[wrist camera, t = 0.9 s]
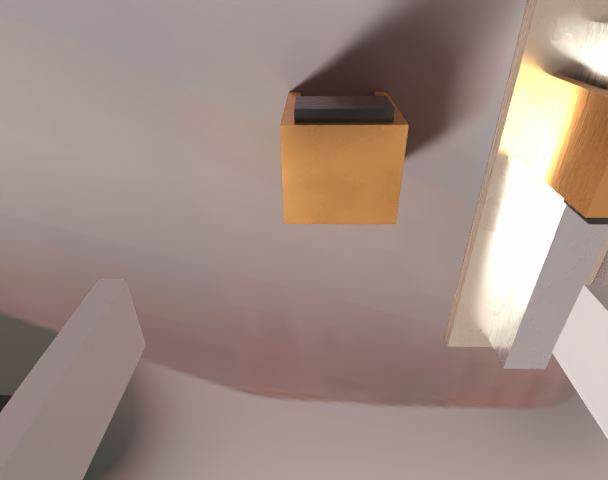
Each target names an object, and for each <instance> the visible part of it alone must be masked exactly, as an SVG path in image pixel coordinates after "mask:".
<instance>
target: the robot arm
mask: <svg viewBox="0 0 608 480" xmlns="http://www.w3.org/2000/svg"><path fill="white" fill-rule="evenodd" d="M145 346H146V344H145V341H144V338H143V334H142V331H141V328H140V325H139V322H138V318H137V315H136V312H135V309H134V305H133V302H132V299H131V296H130V293H129V289H128V286H127V283H126V280H125V279H99V280H98V281H97V282H96V284H95V285H94V286H93V288H92V289H91V291H90V292H89V293H88V295H87V296H86V297H85V299H84V300H83V301H82V303H81V304H80V305H79V307H78V308H77V309H76V311H75V312H74V314H73V315H72V316H71V318H70V319H69V320H68V322H67V323H66V324H65V326H64V327H63V328H62V330H61V331H60V332H59V334H58V335H57V336H56V338H55V339H54V341H53V342H52V343H51V345H50V346H49V347H48V349H47V350H46V352H45V353H44V354H43V356H42V357H41V358H40V360H39V361H38V362H37V364H36V365H35V366H34V368H33V369H32V370H31V372H30V373H29V374H28V376H27V377H26V379H25V380H24V381H23V383H22V384H21V385H20V387H19V388H18V389H17V391H16V392H15V393H14V395H13V396H11V395H0V480H82V479H83V477H84V475H85V473H86V471H87V469H88V467H89V465H90V463H91V460H92V458H93V456H94V454H95V452H96V450H97V448H98V445H99V444H100V441H101V439H102V437H103V435H104V433H105V431H106V429H107V427H108V424H109V422H110V420H111V418H112V416H113V414H114V412H115V409H116V408H117V405H118V403H119V401H120V399H121V397H122V395H123V393H124V391H125V389H126V386H127V384H128V382H129V380H130V378H131V376H132V374H133V372H134V369H135V367H136V365H137V363H138V361H139V359H140V357H141V355H142V353H143V350H144V348H145ZM552 353H553V355H554V356H555V358H556V359H557V361H558V362H559V364H560V366H561V367H562V369H563V370H564V372H565V373H566V375H567V376H568V378H569V380H570V381H571V383H572V384H573V386H574V387H575V389H576V390H577V392H578V394H579V395H580V397H581V398H582V400H583V401H584V403H585V404H586V406H587V408H588V409H589V410H590V412H591V414H592V415H593V417H594V418H595V420H596V422H597V423H598V425H599V426H600V428H601V429H602V431H603V432H604V434H605V436H606V437H607V439H608V285H584V286H583V288H582V290H581V292H580V294H579V296H578V298H577V300H576V303H575V305H574V307H573V309H572V311H571V313H570V315H569V317H568V319H567V321H566V324H565V326H564V328H563V330H562V332H561V334H560V336H559V338H558V340H557V343H556V345H555V347H554V349H553V351H552Z"/></svg>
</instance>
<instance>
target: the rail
mask: <svg viewBox="0 0 608 480" xmlns="http://www.w3.org/2000/svg"><path fill="white" fill-rule="evenodd" d="M607 251H608V0H528V3H527V7H526V11H525V15H524V19H523V23H522V27H521V31H520V35H519V39H518V43H517V47H516V51H515V55H514V59H513V63H512V67H511V71H510V75H509V79H508V83H507V87H506V91H505V95H504V99H503V103H502V107H501V111H500V115H499V119H498V123H497V127H496V131H495V135H494V139H493V143H492V147H491V151H490V155H489V159H488V163H487V167H486V171H485V175H484V180H483V184H482V188H481V192H480V196H479V200H478V204H477V208H476V212H475V216H474V220H473V224H472V228H471V232H470V236H469V240H468V244H467V248H466V252H465V256H464V260H463V264H462V268H461V272H460V276H459V280H458V284H457V288H456V292H455V296H454V300H453V304H452V308H451V312H450V316H449V320H448V324H447V328H446V332H445V336H444V338H445V340H446V343H447V346H461V347H493V349H494V351H495V353H496V355H497V357H498V359H499V361H500V363H501V365H502V367H503V369H545V368H546V366H547V364H548V362H549V360H550V357H551V355H552V351H553V349H554V347H555V345H556V343H557V340H558V338H559V336H560V334H561V332H562V330H563V328H564V326H565V324H566V321H567V319H568V317H569V315H570V313H571V311H572V309H573V307H574V305H575V303H576V300H577V298H578V296H579V294H580V292H581V290H582V288H583V286H584V285H591V284H592V282H593V280H594V278H595V276H596V274H597V271H598V269H599V267H600V265H601V263H602V261H603V259H604V257H605V255H606V253H607Z"/></svg>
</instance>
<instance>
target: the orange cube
mask: <svg viewBox="0 0 608 480" xmlns="http://www.w3.org/2000/svg"><path fill="white" fill-rule="evenodd" d="M408 127H409V124H408V123H407V121H406V120H405V118H404V117H403V115H402V114H401V112H400V111H399V110H398V108H397V107H396V105H395V104H394V102H393V101H392V99H391V98H390V96H389V95H388V93H387V92H374V96H301V92H289V94H288V97H287V101H286V105H285V109H284V113H283V117H282V121H281V124H280V130H281V154H282V178H283V202H284V224H396V219H397V211H398V203H399V196H400V188H401V181H402V173H403V165H404V158H405V150H406V142H407V135H408Z"/></svg>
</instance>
